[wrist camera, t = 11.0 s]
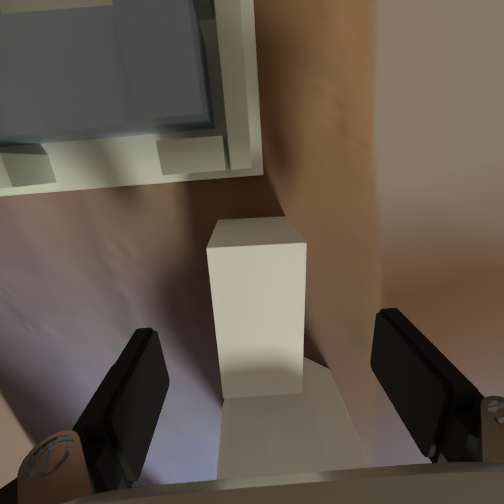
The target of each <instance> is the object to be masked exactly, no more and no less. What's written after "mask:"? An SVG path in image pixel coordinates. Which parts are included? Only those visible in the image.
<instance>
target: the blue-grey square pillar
mask: <svg viewBox="0 0 504 504" xmlns="http://www.w3.org/2000/svg"><path fill="white" fill-rule="evenodd" d="M112 3H113V5H106V6H93V7H81V8H69V9H57V10H45V11H33V12H20V13H8V14H0V147H10V146H21V145H33V144H44V143H56V142H68V141H79V140H91V139H102V138H114V137H126V136H137V135H149V134H160V133H172V132H183V131H195V130H207V129H215V124H214V116H213V108H212V99H211V91H210V82H209V74H208V66H207V57H206V49H205V41H204V37H203V34H202V31H201V28H200V25H199V21H198V18H197V15H196V12H195V8H194V5H193V2H192V0H112Z"/></svg>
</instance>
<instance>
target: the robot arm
mask: <svg viewBox="0 0 504 504" xmlns="http://www.w3.org/2000/svg"><path fill="white" fill-rule="evenodd" d="M370 363H371V368H372V370H373V372H374V374H375V376H376V377H377V379H378V381H379V382H380V384H381V386H382V387H383V389H384V391H385V392H386V394H387V396H388V397H389V399H390V401H391V402H392V404H393V406H394V407H395V409H396V411H397V413H398V414H399V416H400V417H401V419H402V421H403V423H404V424H405V426H406V428H407V429H408V431H409V433H410V434H411V436H412V438H413V439H414V441H415V443H416V444H417V446H418V448H419V449H420V451H421V453H422V454H423V455H424V456H425V457H429V459H430V460H431V462H432V463H430V464H411V465H398V466H385V467H371V468H358V469H344V470H331V471H319V472H306V473H294V474H281V475H269V476H257V477H245V478H233V479H222V480H210V481H199V482H187V483H176V484H166V485H156V486H147V487H138V488H132V485H133V482H134V481H137V480H138V478H139V476H140V474H141V471H142V468H143V465H144V462H145V458H146V455H147V452H148V449H149V446H150V443H151V440H152V437H153V434H154V431H155V428H156V425H157V421H158V418H159V415H160V412H161V409H162V406H163V403H164V400H165V397H166V394H167V391H168V387H169V375H168V371H167V368H166V364H165V360H164V356H163V352H162V348H161V344H160V340H159V337H158V333H157V331H153V329H152V328H139V329H136V331H135V332H134V334H133V335H132V337H131V339H130V340H129V342H128V344H127V345H126V347H125V348H124V350H123V352H122V353H121V355H120V357H119V358H118V360H117V361H116V363H115V364H114V365H113V366H112V367H111V368H110V370H109V371H108V373H107V375H106V376H105V378H104V379H103V381H102V383H101V384H100V386H99V387H98V389H97V391H96V392H95V394H94V395H93V397H92V398H91V400H90V402H89V403H88V405H87V406H86V408H85V410H84V411H83V413H82V414H81V416H80V418H79V419H78V421H77V422H76V424H75V426H74V427H73V429H72V430H64V431H60V432H57V433H55V434H53V435H51V436H49V437H47V438H46V439H44V440H43V441H41V442H40V443H39V444H38V445H36V446H35V447H34V448H33V449H32V450H31V451H30V452H29V454H28V455H27V456H26V458H25V459H24V460H23V462H22V464H21V466H20V468H19V471H18V477H17V478H16V479H14V480H13V481H11V482H10V483H8V484H7V485H5V486H4V487H3V488H1V489H0V504H504V397H501V396H488V397H484V396H483V395H482V394H481V393H480V392H479V391H478V389H477V388H476V387H475V386H474V385H473V384H472V383H471V382H470V381H469V380H468V379H467V378H466V377H465V376H464V375H463V374H462V373H461V372H460V371H459V370H458V369H457V368H456V367H455V366H454V365H453V364H452V363H451V362H450V361H449V360H448V359H447V358H446V357H445V356H444V355H443V354H442V353H441V352H440V351H439V350H438V349H437V348H436V347H435V346H434V345H433V344H432V343H431V342H430V341H429V340H428V339H427V338H426V337H425V336H424V335H423V334H422V333H421V332H420V331H419V330H418V329H417V328H416V327H415V326H414V325H413V324H412V323H411V322H410V321H409V320H408V319H407V318H406V317H405V316H404V315H403V314H402V313H401V312H400V311H399V310H398V309H397V308H389V309H381V310H380V313H377V314H376V320H375V328H374V336H373V344H372V352H371V361H370Z"/></svg>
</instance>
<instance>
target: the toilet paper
mask: <svg viewBox="0 0 504 504" xmlns="http://www.w3.org/2000/svg"><path fill="white" fill-rule="evenodd" d="M358 468H371V467H370V464H369V462H368V459H367V457H366V455H365V452H364V450H363V448H362V445H361V443H360V441H359V438H358V436H357V433H356V431H355V429H354V426H353V424H352V422H351V419H350V417H349V414H348V412H347V410H346V407H345V405H344V403H343V400H342V398H341V395H340V393H339V391H338V388H337V386H336V384H335V381H334V379H333V377H332V374H331V372H330V369H328V368H326V367H324V366H322V365H320V364H318V363H316V362H314V361H312V360H310V359H308V358H306V357H304V356H303V379H302V393H297V394H282V395H267V396H252V397H237V398H225V399H224V403H223V408H222V420H221V433H220V445H219V458H218V470H217V480H222V479H233V478H245V477H257V476H269V475H281V474H294V473H306V472H319V471H331V470H344V469H358Z"/></svg>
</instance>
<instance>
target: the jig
mask: <svg viewBox="0 0 504 504" xmlns="http://www.w3.org/2000/svg"><path fill="white" fill-rule="evenodd" d="M192 2H193V5H194V8H195V12H196V15H197V18H198V21H199V25H200V28H201V31H202V34H203V37H204V41H205V49H206V57H207V66H208V74H209V82H210V91H211V99H212V108H213V116H214V124H215V129H207V130H195V131H183V132H172V133H160V134H149V135H137V136H126V137H114V138H102V139H91V140H79V141H68V142H56V143H44V144H33V145H21V146H10V147H0V196H8V195H20V194H32V193H45V192H57V191H69V190H82V189H94V188H106V187H119V186H131V185H143V184H156V183H168V182H181V181H193V180H205V179H218V178H230V177H242V176H255V175H263V159H262V142H261V124H260V107H259V90H258V72H257V55H256V38H255V20H254V3H253V0H192ZM106 5H113V3H112V0H0V14H8V13H20V12H33V11H45V10H57V9H69V8H81V7H93V6H106Z"/></svg>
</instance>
